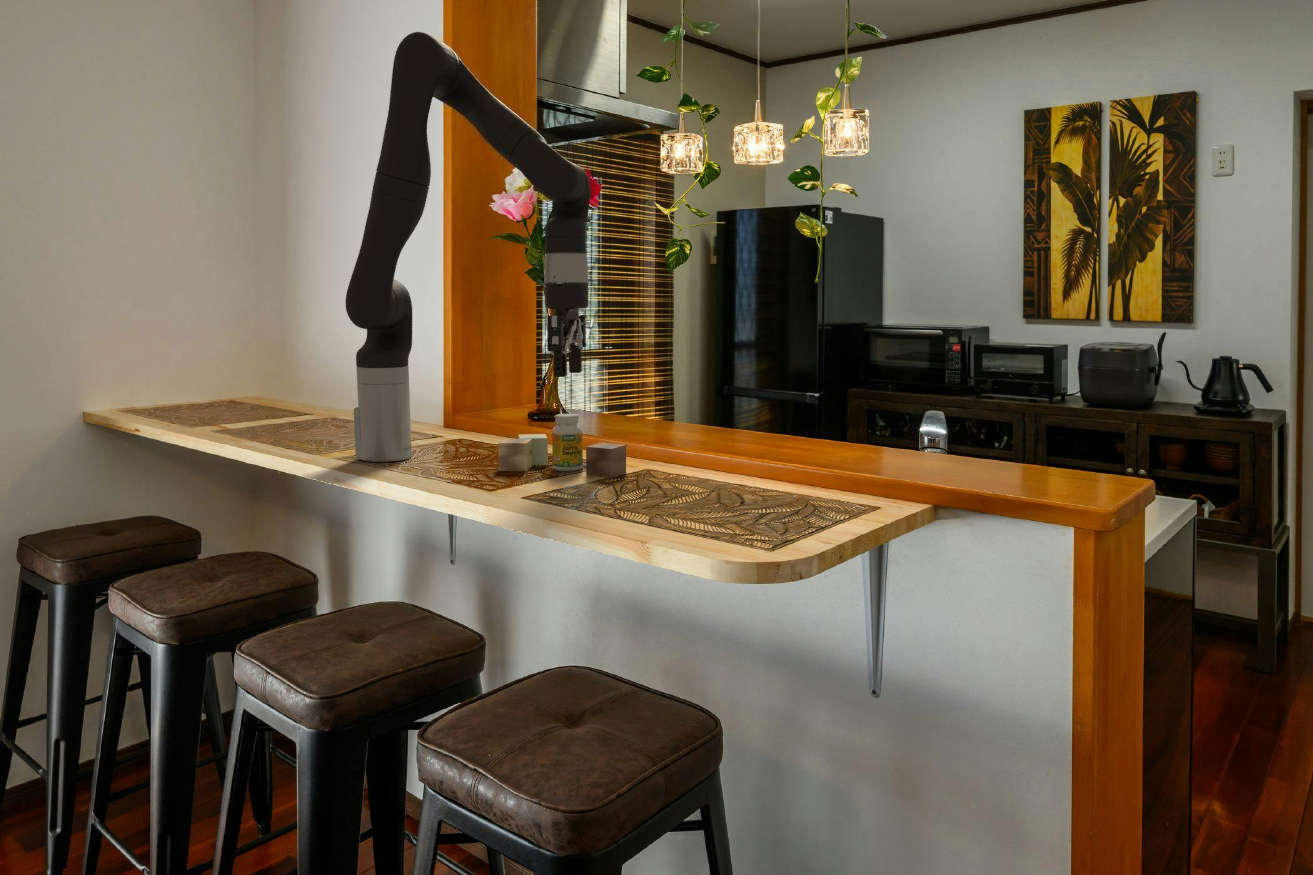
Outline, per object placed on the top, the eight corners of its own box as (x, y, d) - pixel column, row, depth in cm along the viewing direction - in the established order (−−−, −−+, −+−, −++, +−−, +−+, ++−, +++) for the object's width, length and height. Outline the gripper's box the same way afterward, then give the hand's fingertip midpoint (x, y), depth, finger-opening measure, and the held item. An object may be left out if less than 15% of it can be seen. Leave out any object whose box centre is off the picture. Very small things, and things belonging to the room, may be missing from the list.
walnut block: (586, 475, 154) (586, 446, 154) (601, 470, 159) (601, 442, 158) (611, 478, 152) (611, 449, 151) (626, 473, 156) (626, 444, 156)
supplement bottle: (573, 464, 164) (573, 412, 162) (588, 469, 159) (588, 415, 158) (547, 467, 161) (546, 414, 159) (561, 472, 156) (560, 417, 155)
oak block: (498, 471, 158) (498, 442, 157) (504, 465, 163) (504, 438, 162) (526, 471, 158) (526, 443, 157) (532, 466, 163) (531, 438, 162)
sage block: (520, 466, 163) (519, 438, 162) (518, 461, 168) (518, 434, 167) (547, 465, 164) (547, 437, 163) (545, 460, 169) (545, 433, 168)
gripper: (558, 282, 163) (560, 371, 166) (531, 280, 149) (533, 377, 152) (598, 281, 162) (599, 372, 164) (574, 279, 148) (576, 378, 150)
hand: (568, 374), depth 158 cm, fingers open, 8 cm apart
